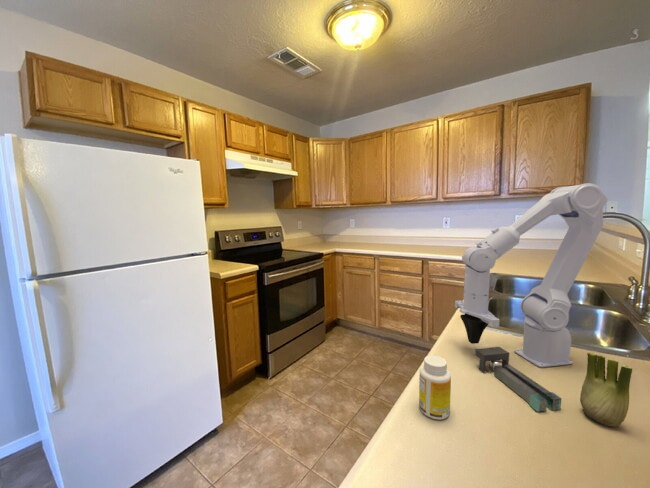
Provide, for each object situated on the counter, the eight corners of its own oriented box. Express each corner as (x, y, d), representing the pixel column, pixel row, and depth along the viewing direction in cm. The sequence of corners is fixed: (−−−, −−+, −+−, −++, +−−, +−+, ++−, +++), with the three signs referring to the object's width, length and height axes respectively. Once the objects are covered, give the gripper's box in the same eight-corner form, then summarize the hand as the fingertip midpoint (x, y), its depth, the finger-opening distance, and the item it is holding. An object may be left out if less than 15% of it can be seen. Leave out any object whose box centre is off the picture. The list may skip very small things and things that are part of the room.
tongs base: (500, 366, 68) (501, 357, 67) (560, 409, 53) (561, 398, 53) (487, 368, 67) (488, 358, 67) (544, 412, 52) (545, 400, 52)
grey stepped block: (498, 362, 69) (499, 346, 69) (508, 369, 66) (509, 352, 66) (474, 365, 68) (475, 348, 68) (483, 372, 65) (484, 355, 65)
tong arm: (499, 374, 64) (499, 365, 64) (546, 410, 52) (546, 400, 52) (492, 374, 64) (492, 365, 64) (537, 411, 52) (538, 400, 52)
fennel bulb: (630, 432, 47) (638, 366, 46) (599, 431, 48) (606, 365, 46) (600, 408, 53) (606, 349, 52) (572, 407, 53) (578, 348, 52)
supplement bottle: (455, 411, 53) (457, 361, 52) (440, 426, 49) (442, 372, 48) (428, 397, 57) (429, 350, 56) (413, 409, 54) (414, 359, 53)
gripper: (446, 286, 79) (444, 331, 80) (481, 302, 64) (478, 357, 66) (468, 285, 80) (466, 330, 81) (508, 300, 65) (505, 355, 67)
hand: (473, 342), depth 74 cm, fingers closed
